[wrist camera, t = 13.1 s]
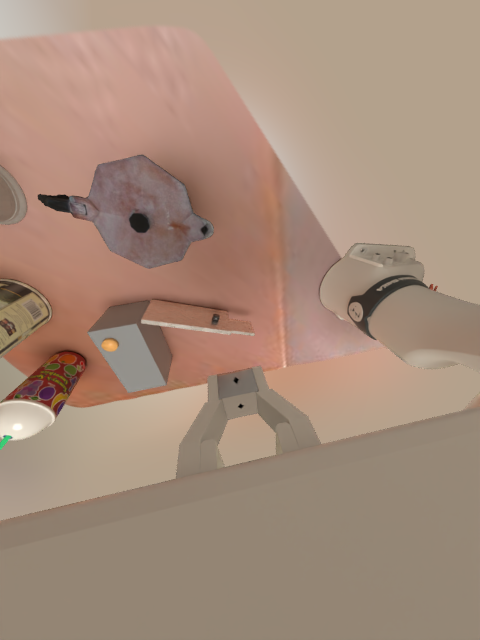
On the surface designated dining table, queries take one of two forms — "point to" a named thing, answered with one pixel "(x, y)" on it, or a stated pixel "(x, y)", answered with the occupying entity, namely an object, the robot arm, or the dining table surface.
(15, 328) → the coffee can
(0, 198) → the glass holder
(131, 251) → the moka pot
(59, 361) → the smoothie
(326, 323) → the dining table surface
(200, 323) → the side door
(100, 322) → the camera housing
